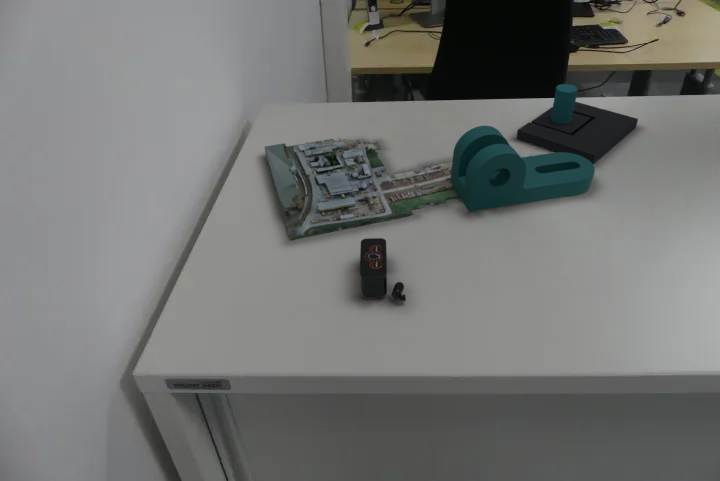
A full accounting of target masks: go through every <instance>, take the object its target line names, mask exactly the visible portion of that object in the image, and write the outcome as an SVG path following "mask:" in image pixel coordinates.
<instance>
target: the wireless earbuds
mask: <svg viewBox="0 0 720 481" xmlns="http://www.w3.org/2000/svg"><path fill="white" fill-rule="evenodd" d="M359 252H360V254H359V283H360V293H361V296H362V297H363V298H366V299H367V298H370V299H371V298H384V297H386V296H387V294H388V259H387V257H388V256H387V254H388V253H387V240H386V239H385V238H382V237H376V238H375V237H371V238H363V239H362V240H361V241H360V251H359ZM404 290H405V285H404V283H403V282H402V281H398V282H396V283H395V284H394V285H393V289H392V290H391V293H390V296H391V298H392V299H393V300H395V301H399V302H406V301H407V297H406V294H403V292H404Z"/></svg>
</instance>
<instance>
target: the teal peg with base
mask: <svg viewBox="0 0 720 481" xmlns="http://www.w3.org/2000/svg"><path fill="white" fill-rule="evenodd" d="M578 90H579V89H578V87H577V86H576V85H574V84H569V83H561V84H558V85H557V86H556V87H555V92H554V99H553V104H552V107H550V108H549V109H547V110H545V111H544V112H543V113H541V114H539V115H538V116H536V118H533V119H532V120H531V121H530V122H531V123H534V124H537V125H540V126H543V127H546V128H550V129H553V130H556V131H559V132H562V133H566V134H569V135H572V136H573V135H574V134H575V133H577V132H578V131H579V130H580V129H582V128H583V127H584V126H586V125H587V124H588V123H590V120H591V118H589V117H586V116H583V115H579V114H576V113H573V111H574V106H575V102H577V101H576V100H577V95H578V92H579V91H578Z"/></svg>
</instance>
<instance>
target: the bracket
mask: <svg viewBox="0 0 720 481" xmlns="http://www.w3.org/2000/svg"><path fill="white" fill-rule="evenodd" d="M453 148H454V149H453V153H452V161H451V162H452V171H451V180H450V182H451V184H452V185H453V187H454V189H455V190H456V192H457V193H458V195H459V197H460V198H461V199H460V200H461V201H462V203H463V205H464V206H465V208H466V210H467V211H468V212H469V213H471V212H472V213H473V212H478V211H484V210H491V209H497V208H504V207H509V206H516V205H523V204H528V203H534V202H541V201H546V200H547V201H548V200H553V199H559V198H565V197H572V196H578V195H582V194H584V193H586V192H588V191H589V189H590V188H591V185H592V182H593V180H594V176H595V172H596V168H595V164H592V163H591V162H590V161H589V160H588V159H586V158H584V157H582V156H580V155H577V154H573V153H567V152H550V153H549V152H548V153H543V154H537V155H529V156H522V157H521V155H520V154H519V153H518V152H517V151H516V149H515V148H514V147H513V146H511V145H510V143H509V141H508V140H507V138H506V137H505V136H504V135H503V134H502V133H501V132H500V131H499V130H498V128H495V127H494V126H492V125H479V126H478V125H477V126H476V127H473V128H471V129H469V130H467V131H465V132H464V133H463V134H462V135H461V136H460V137H459V139H458V140H457V142H456V144H454V147H453Z"/></svg>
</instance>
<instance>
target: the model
mask: <svg viewBox="0 0 720 481" xmlns="http://www.w3.org/2000/svg"><path fill="white" fill-rule="evenodd" d="M338 139H339V140H335V139H333V138H328V139H323V140H317V141H310V142H304V143H300V144H299V143H298V144H293V145H288V146H287V143H276V144H272V145H271V144H270V145H266V146H264V152H265V158H266V160H267V163H268V164H267V165H268V167H269V171H270V174H271V177H272V178H271V179H272V181H273V185H274V189H275V192H276V195H277V199H278V202H279V206H280V209H281V213H282V216H283V218H284V219H283V220H284V223H285V227H286V231H287V234H288V238H289V240H290V241H293V240H297V239H302V238H306V237H313V236H317V235H321V234H322V235H323V234H326V233H327V234H328V233H332V232H337V231H341V230H345V229H351V228H355V227H356V228H357V227H360V226H365V225H371V224H375V223H379V222H385V221H390V220H395V219H400V218H404V217H405V218H406V217H409V216H412V215H414V212H413V211H414V210H418V209H423V208H425V207H426V206H427V205H429V206H431V207H433V206H437V205H441V204H445V203H446V202H447V201H448V200H449V201H450V200H453V199H454V200H458V201H460V200H461V198H460V197H459V195H458V193H457V192H456V190H455V189H454V187H453V185H452V184H451V182H450V180H451V171H452V161H448V162H442V163H437V164H432V165H426V166H423V167H421V168H418V169H416V170H411V171H406V172H400V173H396V174H388V173H387V171H386V170H387V168H386V166H385V165H384V163H383V161H382V160H381V158H380V157H379V155H378V151H376V150H381V149H382V147H381V146H380V144H379V143H378V141H376V142H373V143H371V142H366V141H363V140H360V139H356V140H355V139H341V138H340V137H339V138H338ZM412 210H413V211H412Z"/></svg>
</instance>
